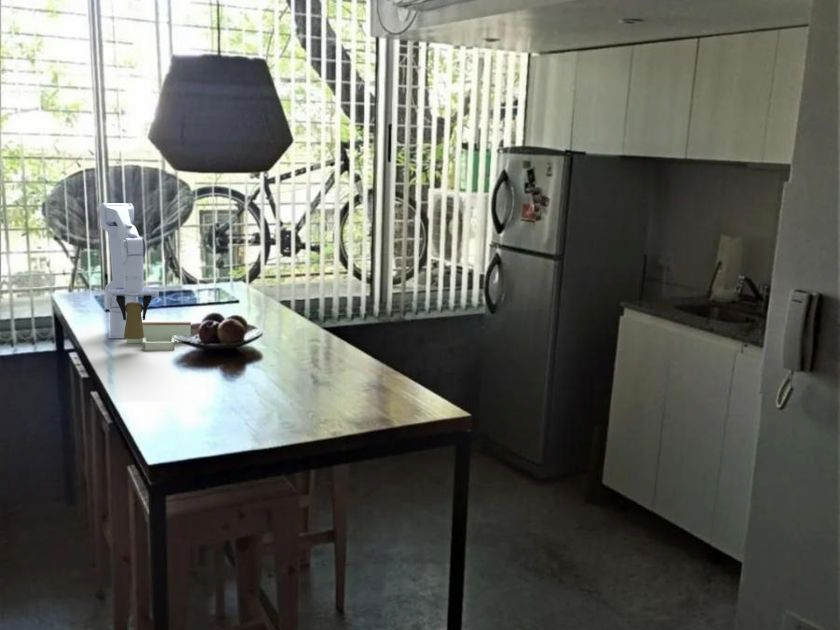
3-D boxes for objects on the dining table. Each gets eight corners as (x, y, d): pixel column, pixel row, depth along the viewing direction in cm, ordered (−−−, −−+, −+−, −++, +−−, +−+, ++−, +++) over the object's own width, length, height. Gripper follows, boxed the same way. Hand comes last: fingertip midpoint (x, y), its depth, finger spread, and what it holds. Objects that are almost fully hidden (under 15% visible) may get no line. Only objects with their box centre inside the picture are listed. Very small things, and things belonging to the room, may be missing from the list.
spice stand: (126, 341, 268) (126, 322, 266) (190, 341, 273) (190, 322, 272) (125, 350, 258) (124, 330, 257) (191, 349, 264) (191, 329, 263)
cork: (137, 340, 253) (137, 305, 251) (119, 337, 254) (119, 302, 252) (147, 336, 259) (148, 302, 257) (130, 334, 260) (130, 299, 258)
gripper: (107, 278, 247) (108, 322, 250) (158, 279, 251) (158, 322, 254) (109, 274, 253) (110, 316, 257) (158, 275, 257) (158, 317, 261)
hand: (134, 319), depth 256 cm, fingers closed on cork, 5 cm apart
